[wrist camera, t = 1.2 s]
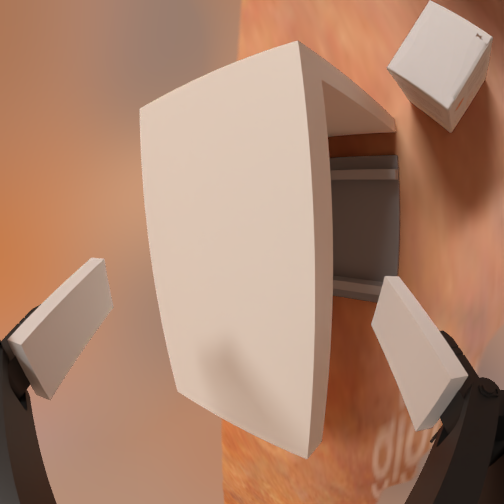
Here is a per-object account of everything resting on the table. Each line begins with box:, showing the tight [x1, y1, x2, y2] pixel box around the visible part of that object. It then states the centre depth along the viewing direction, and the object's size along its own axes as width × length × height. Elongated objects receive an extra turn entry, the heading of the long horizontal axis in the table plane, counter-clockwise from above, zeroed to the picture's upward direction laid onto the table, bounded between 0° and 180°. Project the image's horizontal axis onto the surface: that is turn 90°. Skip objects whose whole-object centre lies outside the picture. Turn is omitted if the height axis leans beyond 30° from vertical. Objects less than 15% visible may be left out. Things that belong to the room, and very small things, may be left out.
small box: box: [387, 0, 493, 133], centre depth 17 cm, size 8×6×10 cm
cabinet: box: [140, 41, 400, 459], centre depth 25 cm, size 14×24×20 cm, turn 5°
